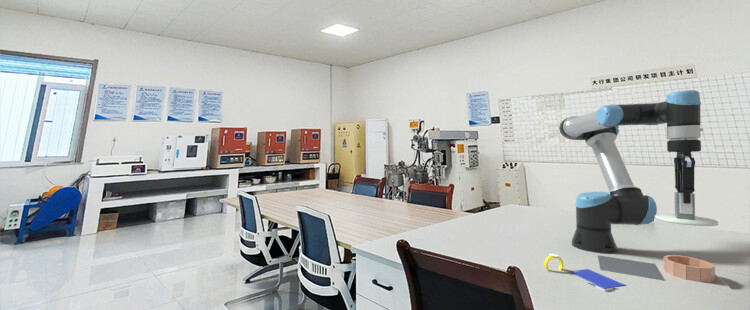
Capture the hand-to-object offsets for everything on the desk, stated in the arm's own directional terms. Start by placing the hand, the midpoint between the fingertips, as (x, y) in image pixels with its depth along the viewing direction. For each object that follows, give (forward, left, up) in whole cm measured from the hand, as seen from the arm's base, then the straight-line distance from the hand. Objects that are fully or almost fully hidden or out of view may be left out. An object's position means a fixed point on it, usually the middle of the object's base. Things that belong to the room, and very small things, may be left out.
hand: (684, 212), depth 95 cm
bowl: (+1, +1, -21) cm, 21 cm away
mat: (-14, -1, -21) cm, 25 cm away
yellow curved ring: (-35, -17, -21) cm, 45 cm away
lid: (0, 0, -3) cm, 3 cm away
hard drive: (-24, -18, -22) cm, 37 cm away
